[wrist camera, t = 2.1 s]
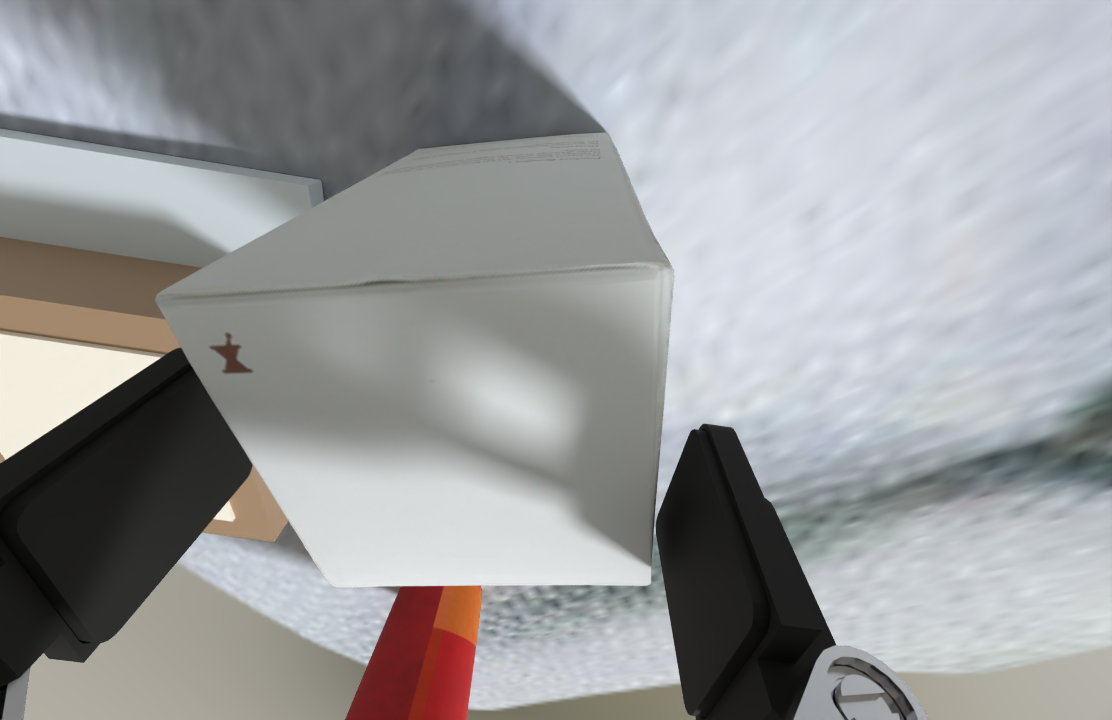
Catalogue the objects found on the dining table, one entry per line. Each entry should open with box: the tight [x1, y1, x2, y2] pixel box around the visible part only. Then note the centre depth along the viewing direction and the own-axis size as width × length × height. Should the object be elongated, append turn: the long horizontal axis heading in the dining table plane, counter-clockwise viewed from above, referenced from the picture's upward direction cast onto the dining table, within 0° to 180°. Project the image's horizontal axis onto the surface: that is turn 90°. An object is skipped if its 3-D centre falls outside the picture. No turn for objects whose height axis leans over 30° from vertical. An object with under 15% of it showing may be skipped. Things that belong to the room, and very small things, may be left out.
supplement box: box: [155, 133, 674, 587], centre depth 13 cm, size 7×7×13 cm
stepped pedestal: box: [0, 128, 324, 542], centre depth 21 cm, size 20×16×5 cm
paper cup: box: [345, 585, 482, 720], centre depth 27 cm, size 8×8×14 cm
